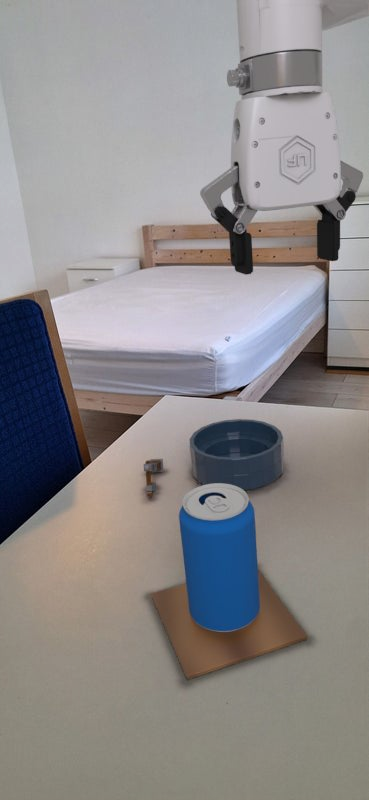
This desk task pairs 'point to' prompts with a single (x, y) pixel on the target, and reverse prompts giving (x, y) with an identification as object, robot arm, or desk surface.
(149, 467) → the wooden post with brackets
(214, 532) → the beverage can
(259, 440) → the bowl
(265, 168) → the robot arm
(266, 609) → the coaster
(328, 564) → the desk surface
